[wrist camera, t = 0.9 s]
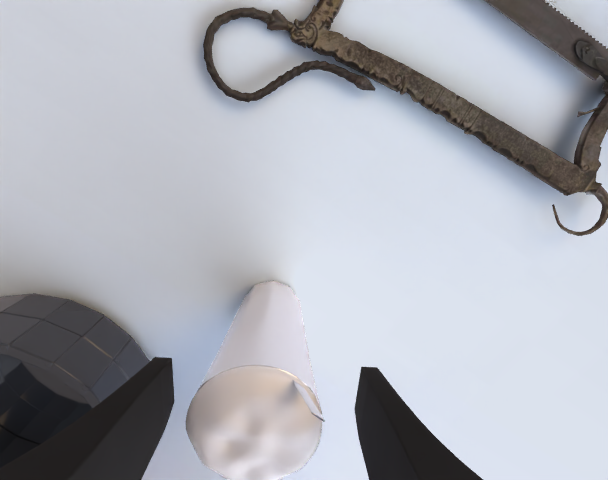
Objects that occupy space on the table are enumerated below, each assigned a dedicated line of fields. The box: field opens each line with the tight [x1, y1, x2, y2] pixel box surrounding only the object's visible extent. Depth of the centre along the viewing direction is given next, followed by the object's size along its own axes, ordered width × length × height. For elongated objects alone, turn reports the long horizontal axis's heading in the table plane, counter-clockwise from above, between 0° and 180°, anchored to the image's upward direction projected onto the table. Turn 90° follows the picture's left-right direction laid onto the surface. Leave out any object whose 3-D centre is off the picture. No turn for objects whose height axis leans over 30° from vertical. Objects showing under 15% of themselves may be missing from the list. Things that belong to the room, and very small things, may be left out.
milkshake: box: [186, 280, 325, 480], centre depth 14 cm, size 4×5×10 cm
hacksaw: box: [203, 0, 608, 236], centre depth 15 cm, size 24×10×2 cm, turn 60°
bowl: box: [0, 294, 149, 468], centre depth 18 cm, size 12×12×4 cm
